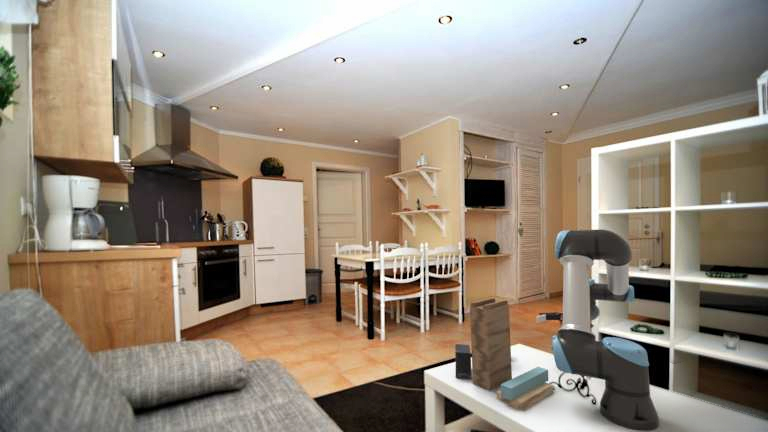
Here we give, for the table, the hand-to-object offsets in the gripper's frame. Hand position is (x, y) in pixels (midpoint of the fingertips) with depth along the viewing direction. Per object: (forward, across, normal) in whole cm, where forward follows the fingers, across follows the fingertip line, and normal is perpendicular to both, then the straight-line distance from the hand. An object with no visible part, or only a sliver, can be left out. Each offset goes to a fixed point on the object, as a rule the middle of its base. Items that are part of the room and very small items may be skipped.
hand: (552, 322), depth 142 cm
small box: (+27, +25, -22) cm, 43 cm away
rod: (+25, -2, -19) cm, 31 cm away
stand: (+25, +12, -21) cm, 35 cm away
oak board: (+25, -2, -21) cm, 33 cm away
